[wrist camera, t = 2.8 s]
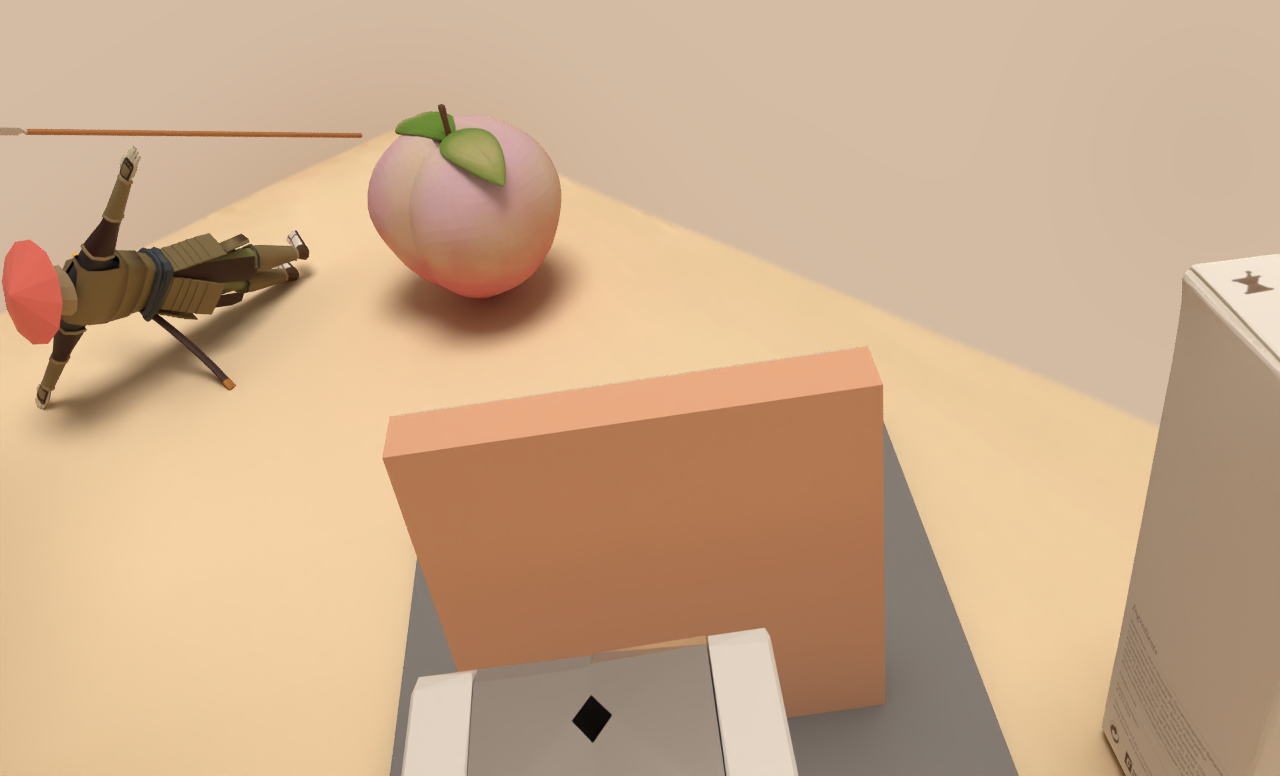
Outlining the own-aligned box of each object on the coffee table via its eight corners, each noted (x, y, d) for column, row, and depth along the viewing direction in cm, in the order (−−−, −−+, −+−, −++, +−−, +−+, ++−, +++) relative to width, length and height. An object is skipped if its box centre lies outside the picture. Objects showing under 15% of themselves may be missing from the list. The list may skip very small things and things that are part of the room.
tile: (488, 759, 35) (382, 458, 28) (490, 707, 36) (390, 409, 29) (885, 704, 34) (882, 384, 27) (871, 654, 36) (864, 339, 29)
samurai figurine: (312, 442, 63) (-76, 546, 46) (212, 320, 66) (-186, 377, 49) (439, 212, 55) (26, 240, 38) (319, 85, 58) (-113, 60, 41)
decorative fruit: (616, 279, 57) (584, 86, 51) (493, 363, 52) (442, 162, 46) (491, 231, 62) (449, 53, 56) (371, 303, 58) (311, 118, 52)
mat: (360, 1071, 28) (354, 1062, 28) (430, 483, 46) (427, 473, 46) (1088, 975, 28) (1091, 964, 28) (878, 418, 46) (878, 408, 45)
